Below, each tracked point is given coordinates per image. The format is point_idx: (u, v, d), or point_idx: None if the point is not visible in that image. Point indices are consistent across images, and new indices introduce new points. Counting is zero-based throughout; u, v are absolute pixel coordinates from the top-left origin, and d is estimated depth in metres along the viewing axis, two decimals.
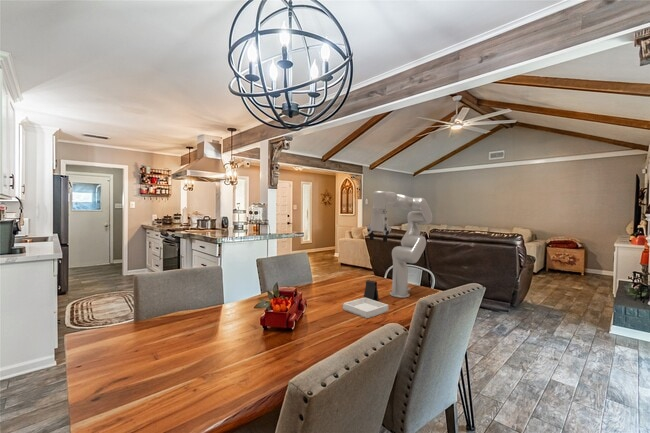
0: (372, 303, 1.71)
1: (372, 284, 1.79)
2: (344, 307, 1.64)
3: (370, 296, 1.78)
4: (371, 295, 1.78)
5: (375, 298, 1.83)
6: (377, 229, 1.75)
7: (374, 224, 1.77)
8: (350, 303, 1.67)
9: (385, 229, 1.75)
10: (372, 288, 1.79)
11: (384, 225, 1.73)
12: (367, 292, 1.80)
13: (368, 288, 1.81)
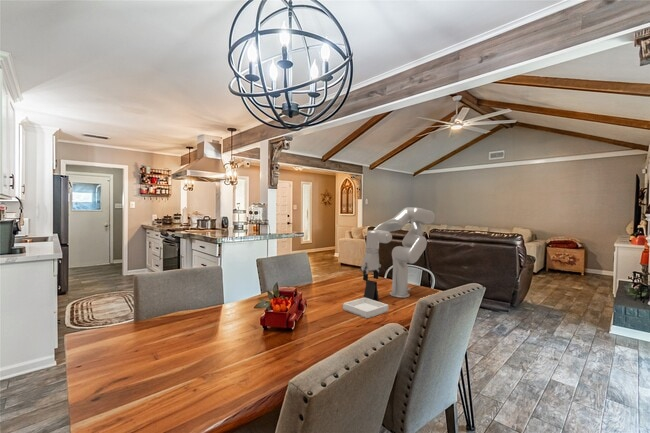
0: (372, 303, 1.71)
1: (372, 284, 1.79)
2: (344, 307, 1.64)
3: (370, 296, 1.78)
4: (371, 295, 1.78)
5: (375, 298, 1.83)
6: (374, 268, 1.80)
7: (373, 264, 1.78)
8: (350, 303, 1.67)
9: None
10: (372, 288, 1.79)
11: None
12: (367, 292, 1.80)
13: (368, 288, 1.81)
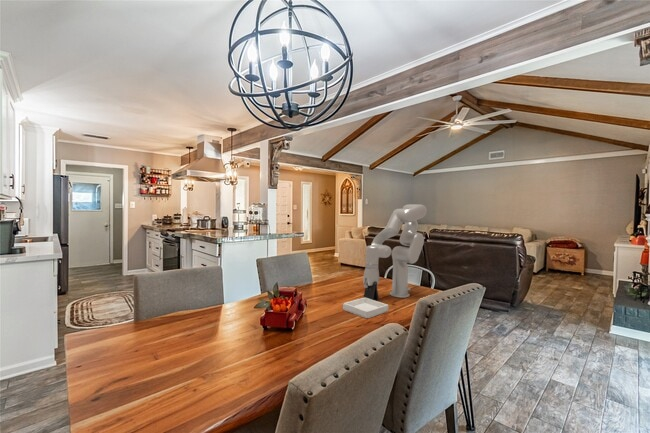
0: (372, 303, 1.71)
1: None
2: (344, 307, 1.64)
3: (370, 296, 1.78)
4: (371, 295, 1.78)
5: (375, 298, 1.83)
6: (375, 283, 1.80)
7: (373, 279, 1.79)
8: (350, 303, 1.67)
9: None
10: (372, 288, 1.79)
11: None
12: (367, 292, 1.80)
13: None
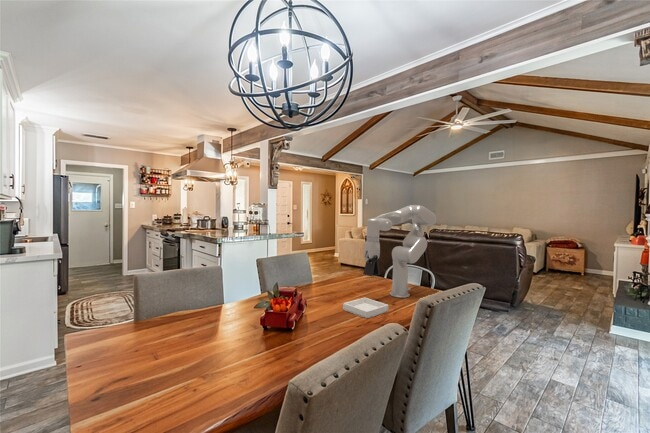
0: (372, 303, 1.71)
1: None
2: (344, 307, 1.64)
3: (370, 269, 1.78)
4: (371, 268, 1.77)
5: (376, 272, 1.81)
6: None
7: (373, 252, 1.78)
8: (350, 303, 1.67)
9: None
10: (372, 261, 1.78)
11: None
12: (367, 266, 1.80)
13: None
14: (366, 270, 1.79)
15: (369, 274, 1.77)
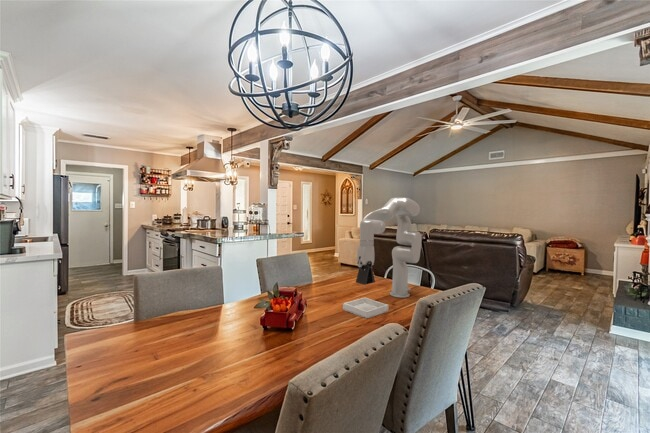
0: (372, 303, 1.71)
1: None
2: (344, 307, 1.64)
3: (363, 277, 1.60)
4: (364, 276, 1.59)
5: (370, 280, 1.63)
6: None
7: (367, 258, 1.60)
8: (350, 303, 1.67)
9: None
10: (366, 268, 1.60)
11: None
12: (361, 273, 1.62)
13: None
14: (359, 278, 1.61)
15: (362, 282, 1.59)
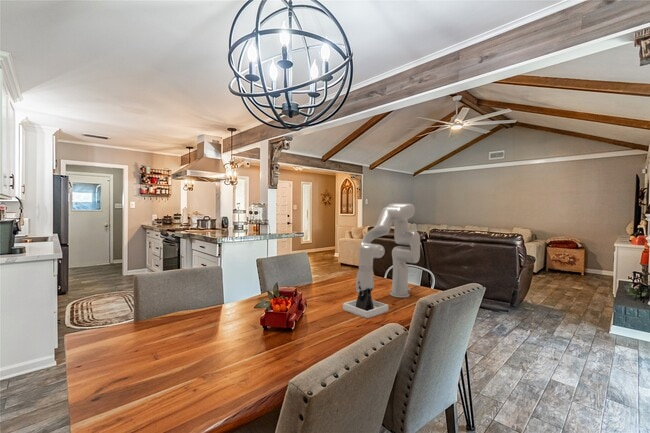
0: None
1: (365, 291, 1.61)
2: (344, 307, 1.64)
3: (362, 304, 1.60)
4: (363, 303, 1.60)
5: (369, 307, 1.64)
6: (369, 287, 1.62)
7: (366, 283, 1.60)
8: (350, 303, 1.67)
9: None
10: (365, 296, 1.61)
11: None
12: None
13: None
14: (358, 305, 1.62)
15: None
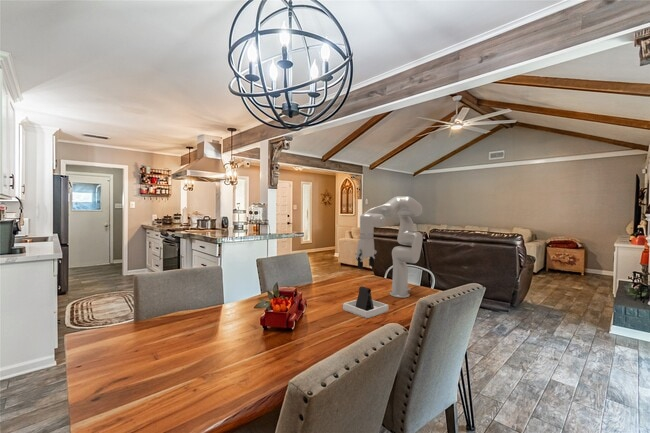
0: None
1: (365, 291, 1.61)
2: (344, 307, 1.64)
3: (362, 304, 1.60)
4: (363, 303, 1.60)
5: (369, 307, 1.64)
6: (370, 255, 1.66)
7: (367, 251, 1.64)
8: (350, 303, 1.67)
9: None
10: (365, 296, 1.61)
11: None
12: (360, 300, 1.62)
13: (361, 295, 1.63)
14: (358, 305, 1.62)
15: None
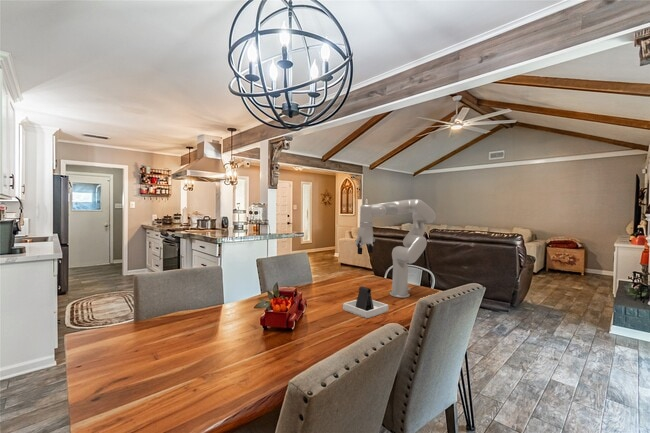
0: None
1: (365, 291, 1.61)
2: (344, 307, 1.64)
3: (362, 304, 1.60)
4: (363, 303, 1.60)
5: (369, 307, 1.64)
6: (369, 242, 1.81)
7: (367, 238, 1.79)
8: (350, 303, 1.67)
9: None
10: (365, 296, 1.61)
11: None
12: (360, 300, 1.62)
13: (361, 295, 1.63)
14: (358, 305, 1.62)
15: None
